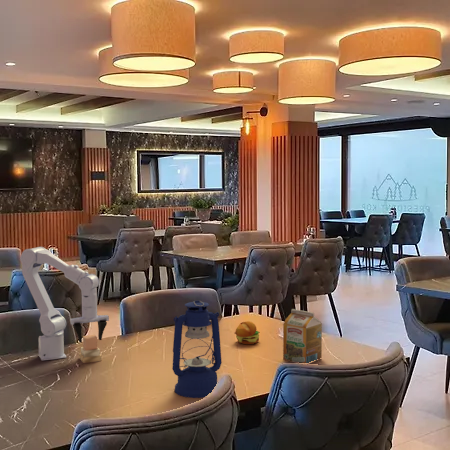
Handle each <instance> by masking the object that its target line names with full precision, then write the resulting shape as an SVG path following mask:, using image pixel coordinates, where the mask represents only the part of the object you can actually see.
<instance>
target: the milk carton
mask: <svg viewBox="0 0 450 450" xmlns="http://www.w3.org/2000/svg"><path fill="white" fill-rule="evenodd" d="M282 325H283V327H282V328H283V330H282V331H283V334H282V336H283V338H282V339H283V343H282V344H283V345H282V347H283V349H282V351H283V352H282V355H283V356H282V358H283V361H287V362H292V363H295V362H299V363H309V362H311V361H314V360H317V359H320V358H322V356H323V355H322V350H323V349H322V344H323V343H322V340H323V335H322V333H323V331H322V330H323V324H322V321H321V320H320V319H319V318H317V317H316V316H315V313H314V312H311V311H305V310H300V309H295V308H291V313H289V315H288V316H287V317H286V318H285V320H284V321H283V324H282ZM320 360H321V359H320ZM299 363H298V364H299Z"/></svg>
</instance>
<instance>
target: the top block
mask: <svg viewBox="0 0 450 450" xmlns="http://www.w3.org/2000/svg"><path fill="white" fill-rule="evenodd" d="M80 353H81V354H82V355H83V357H84V358H85V357H93V356H100V355H101V349H100V348H99V347H98V349H92V350H85V349H84V348H83V346H81V347H80Z"/></svg>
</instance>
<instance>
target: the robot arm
mask: <svg viewBox="0 0 450 450" xmlns="http://www.w3.org/2000/svg"><path fill="white" fill-rule="evenodd" d="M19 260H20V262H21V271H22V273H21V274H22V276H23V279H24V280H25V283H26V285H27V287H28V289H29V292H30V294H31V296H32V298H33V301H34V302H35V305H36V307H37V309H38V311H39V313H40V317H39V319H38V322H39V324H40V331H41V333H42V334H43V335H39V336H38V356H39V359H40V360H41V361H49V360H57V359H59V360H60V359H65V358H67V355H66V354H65V346H64V345H65V344H64V341H65V340H64V339H65V338H64V330H65V329H66V327H67V320H66V318H65V317H64V316H62V314H61V312H60V311H59V310H58V309H56V308H55V307H54V305H53V303H52V300H51V299H50V298H51V297H50V296H49V294H48V292H47V290H46V287H45V285H44V283H43V281H42V279H41V277H40V274H39V271H40V268H41V267H42V265H43V264H47V265H49V266H51V267H52V268H54V269H56V270H58V271H60V272H62V273H63V274H64V278H66V279H68V280H69V281H71V282H73V284H76V285H77V286H78V288H79V289H80V290H81V316H80V317H79V316H78V317H73V318H69V319H70V320H69V321H70V323H69V324H70V325H72V326H73V328H74V330H75V332H76V335H77V337H78V342H79V344H80V343H82V342H83V336H82V329H83V327H82V324H87V323H97V326H98V331H97V332H98V336H97V339H98V340H99V341H102V339H103V334H104V331H105V329H106V326H107V324H108V323H107V322H109V321H110V317H109V315H108V314H105V315H103V314H102V315H98V292H97V291H98V290H97V289H98V288H97V287H99V286H100V285H99V284H100V280H99V277H98V276H97V275H96V274H95V273H89V271H85V270H83V269H81V268H80V266H79V265H78V264H70V265H69V264H68V263H66V262H65V261H64V260H62V259H60V258H59V257H58V256H56V255H55V254H53V253H52V252H51V251H50V250H49V249H46V248H45V247H44V246H37V247H33V248H25V249H24V250H23V251H22V252H21V255H20V258H19Z"/></svg>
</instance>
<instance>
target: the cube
mask: <svg viewBox="0 0 450 450" xmlns="http://www.w3.org/2000/svg"><path fill="white" fill-rule="evenodd" d="M82 342H83V343H82V345H83V346H82V347H83V348H84V349H85V350H92V349H98V348H99V347H98V336H96V334H89V335H83V336H82Z"/></svg>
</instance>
